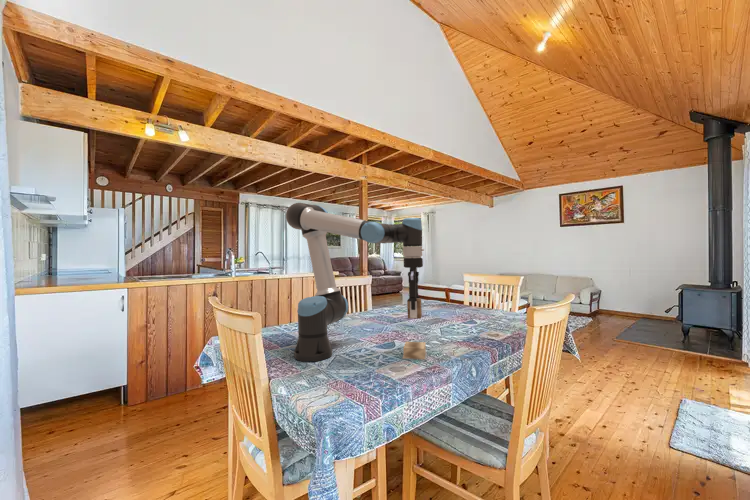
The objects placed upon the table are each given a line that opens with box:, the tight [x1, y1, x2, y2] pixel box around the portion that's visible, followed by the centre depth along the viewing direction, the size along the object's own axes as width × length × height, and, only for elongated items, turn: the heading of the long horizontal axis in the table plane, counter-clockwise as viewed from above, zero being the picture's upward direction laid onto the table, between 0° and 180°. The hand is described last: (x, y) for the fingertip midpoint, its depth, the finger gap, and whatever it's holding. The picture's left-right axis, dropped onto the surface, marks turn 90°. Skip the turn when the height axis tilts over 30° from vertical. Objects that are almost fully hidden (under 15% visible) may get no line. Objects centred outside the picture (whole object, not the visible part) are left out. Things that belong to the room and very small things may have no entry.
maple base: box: [403, 341, 427, 360], centre depth 128 cm, size 8×8×4 cm
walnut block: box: [407, 298, 423, 320], centre depth 128 cm, size 5×5×7 cm
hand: (414, 316), depth 128 cm, fingers closed on walnut block, 5 cm apart
